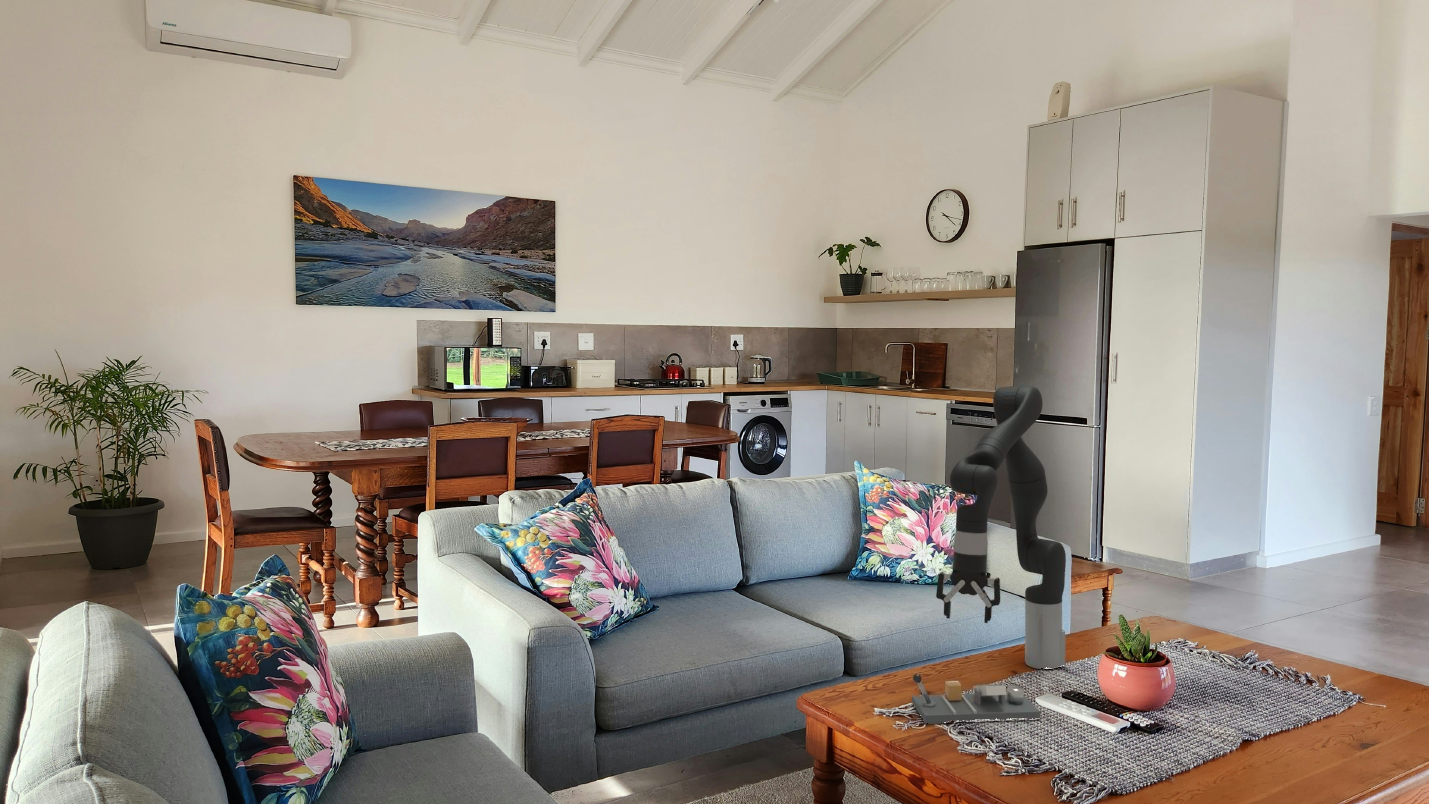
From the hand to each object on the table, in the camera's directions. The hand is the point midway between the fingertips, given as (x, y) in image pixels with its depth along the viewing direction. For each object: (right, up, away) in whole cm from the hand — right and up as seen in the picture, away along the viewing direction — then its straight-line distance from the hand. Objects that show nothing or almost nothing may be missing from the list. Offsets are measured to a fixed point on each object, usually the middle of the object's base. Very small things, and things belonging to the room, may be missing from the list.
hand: (966, 620), depth 218 cm
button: (+11, -19, -1) cm, 22 cm away
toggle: (-9, -19, -2) cm, 21 cm away
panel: (+1, -21, -1) cm, 21 cm away
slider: (-3, -19, +1) cm, 19 cm away
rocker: (+5, -16, -2) cm, 17 cm away
